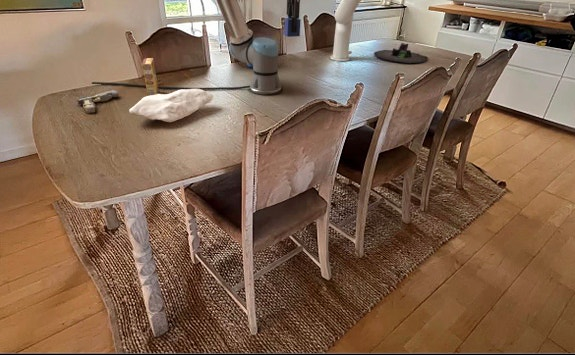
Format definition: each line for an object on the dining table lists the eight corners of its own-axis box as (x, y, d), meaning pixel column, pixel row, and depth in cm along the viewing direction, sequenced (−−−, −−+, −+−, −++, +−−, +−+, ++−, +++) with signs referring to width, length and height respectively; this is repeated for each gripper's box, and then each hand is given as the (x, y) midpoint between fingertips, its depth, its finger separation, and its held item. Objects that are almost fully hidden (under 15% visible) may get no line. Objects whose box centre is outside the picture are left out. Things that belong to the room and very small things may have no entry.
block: (299, 36, 194) (300, 19, 189) (287, 36, 192) (288, 19, 187) (296, 34, 198) (297, 17, 193) (284, 34, 196) (284, 18, 191)
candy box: (157, 97, 164) (152, 63, 155) (147, 98, 163) (141, 63, 155) (158, 91, 171) (153, 57, 163) (149, 91, 170) (143, 58, 162)
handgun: (128, 97, 156) (111, 87, 164) (86, 107, 144) (70, 97, 152) (129, 103, 157) (113, 94, 165) (88, 114, 146) (72, 103, 154)
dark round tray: (438, 59, 239) (441, 44, 234) (403, 65, 221) (405, 50, 217) (397, 50, 264) (399, 37, 259) (362, 56, 246) (363, 42, 242)
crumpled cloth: (117, 110, 146) (113, 90, 140) (195, 92, 166) (194, 73, 160) (143, 139, 134) (140, 118, 128) (223, 116, 154) (224, 96, 148)
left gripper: (307, -17, 175) (304, 34, 188) (294, -20, 189) (292, 27, 202) (293, -17, 173) (291, 34, 185) (281, -20, 187) (279, 28, 199)
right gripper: (301, -31, 209) (299, 2, 218) (290, -33, 222) (289, -2, 231) (288, -31, 206) (287, 2, 216) (279, -33, 220) (278, -2, 229)
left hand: (292, 31), depth 193 cm, fingers closed on block, 5 cm apart
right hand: (288, 0), depth 223 cm, fingers open, 9 cm apart
